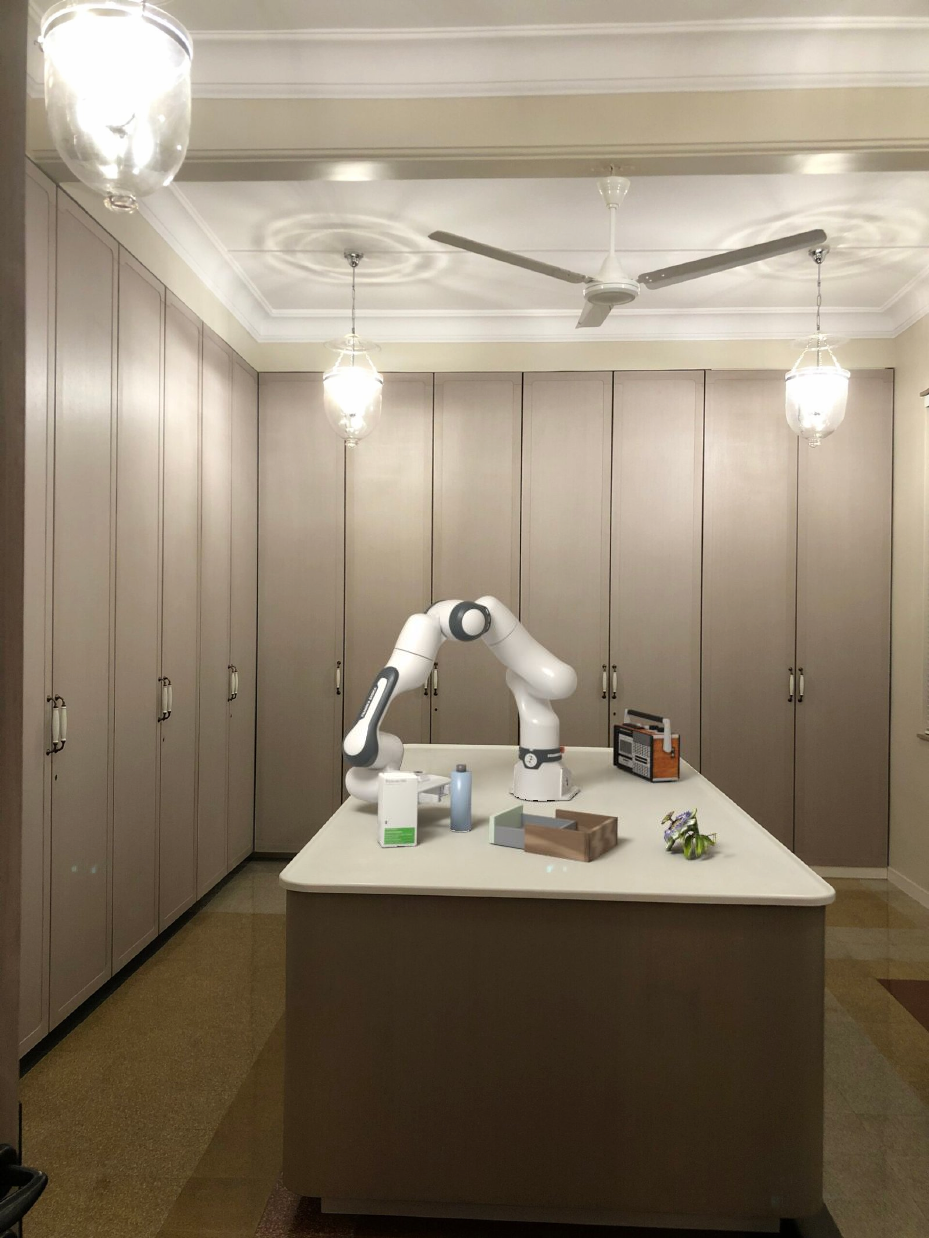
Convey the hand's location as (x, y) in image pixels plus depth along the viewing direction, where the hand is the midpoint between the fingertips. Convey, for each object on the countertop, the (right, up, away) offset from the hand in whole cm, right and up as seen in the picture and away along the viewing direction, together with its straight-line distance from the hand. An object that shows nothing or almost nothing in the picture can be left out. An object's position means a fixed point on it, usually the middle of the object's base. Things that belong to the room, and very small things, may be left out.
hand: (449, 795), depth 208 cm
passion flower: (+53, -9, -19) cm, 57 cm away
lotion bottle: (+3, -8, -2) cm, 9 cm away
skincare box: (-12, -8, -14) cm, 20 cm away
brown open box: (+27, -8, -16) cm, 32 cm away
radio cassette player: (+62, -8, +71) cm, 95 cm away
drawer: (+20, -8, -12) cm, 25 cm away
